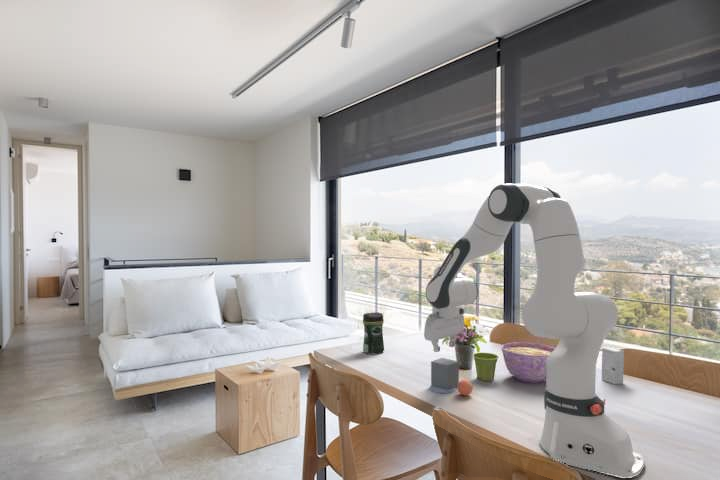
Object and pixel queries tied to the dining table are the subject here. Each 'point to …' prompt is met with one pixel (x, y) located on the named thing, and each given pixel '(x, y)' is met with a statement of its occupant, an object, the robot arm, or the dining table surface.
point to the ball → (464, 387)
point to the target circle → (441, 389)
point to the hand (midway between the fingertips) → (444, 349)
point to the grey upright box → (444, 373)
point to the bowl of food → (526, 360)
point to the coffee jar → (373, 333)
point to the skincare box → (612, 365)
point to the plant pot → (485, 365)
